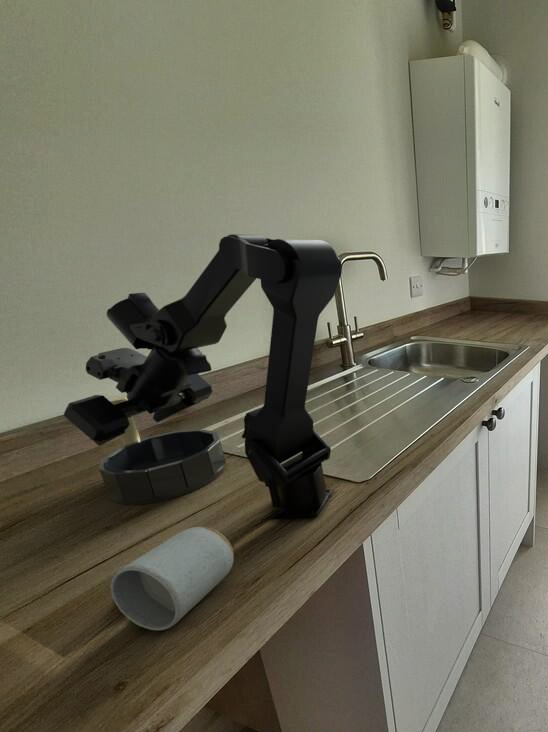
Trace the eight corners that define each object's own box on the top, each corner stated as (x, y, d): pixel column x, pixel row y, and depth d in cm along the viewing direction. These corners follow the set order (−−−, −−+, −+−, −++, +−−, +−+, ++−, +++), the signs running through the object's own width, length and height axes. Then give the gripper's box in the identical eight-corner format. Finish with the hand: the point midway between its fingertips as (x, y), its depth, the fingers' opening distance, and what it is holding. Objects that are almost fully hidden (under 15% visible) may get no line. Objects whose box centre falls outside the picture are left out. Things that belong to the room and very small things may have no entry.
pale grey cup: (246, 574, 49) (231, 519, 46) (186, 635, 41) (164, 574, 39) (168, 567, 50) (149, 514, 48) (95, 625, 42) (68, 565, 40)
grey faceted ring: (246, 464, 71) (229, 395, 67) (149, 513, 58) (121, 431, 54) (182, 449, 77) (162, 384, 73) (81, 490, 64) (50, 414, 60)
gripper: (181, 322, 71) (146, 379, 76) (48, 347, 53) (15, 419, 59) (231, 368, 72) (193, 421, 77) (117, 407, 54) (78, 472, 60)
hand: (128, 431), depth 68 cm, fingers open, 9 cm apart
